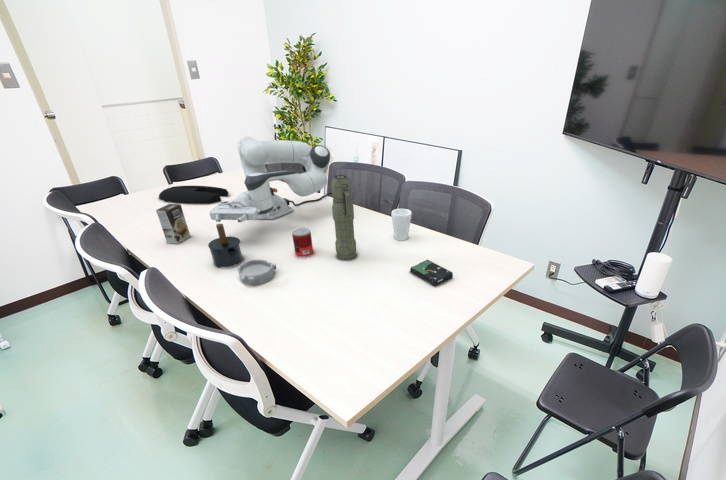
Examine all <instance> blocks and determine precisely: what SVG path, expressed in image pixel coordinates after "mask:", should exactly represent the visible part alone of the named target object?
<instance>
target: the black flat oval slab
mask: <svg viewBox="0 0 726 480" xmlns="http://www.w3.org/2000/svg"><path fill="white" fill-rule="evenodd" d="M228 196H229V191H228V190H227V188H223V187H217V186H209V185H176V186H171V187H168V188H165V189H162V191H161V192H160V193H159V194H158V198H159V199H160V200H162V201H164V202H166V203H172V204H185V205H213V204H216V203H220V202H222V198H223V197H225V198H227V197H228ZM221 197H222V198H221Z"/></svg>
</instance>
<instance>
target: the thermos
mask: <svg viewBox="0 0 726 480" xmlns="http://www.w3.org/2000/svg"><path fill="white" fill-rule="evenodd" d="M351 185H352V184H351V181H350V178H349V177H348V176H347V175H345V174H337V175H334V176H333V177H332V180H331V193H332V194H331V195H332V205H331V211H332V212H331V214H332V219H333V222H334V230H335V241H334V243H335V252H336V258H337V259H338V260H340V261H351V260H354V259H356V258H357V241H356V238H355V228H354V227H355V225H354V219H355V210H354V204H353V202H352V201H353V200H352V188H351V187H352V186H351Z"/></svg>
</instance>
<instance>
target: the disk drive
mask: <svg viewBox="0 0 726 480" xmlns="http://www.w3.org/2000/svg"><path fill="white" fill-rule="evenodd" d="M409 272H410V273H411V274H413V275H415V276H416V277H418V278H420V279H422V280H423V281H425V282H426V283H428V284H430V285H432V286H434V287H435V286H438V285H440V284H443V283H445V282H447V281H449V280H450V279H451V280H452V279H453V277H454V273H453V272H452V271H450V270H448V269H447V268H444V267H443V266H440V265H439V264H437V263H435V262H433V261H432V260H430V259H426V260H423V261H421V262H418V263H417V264H415V265H413V266H411V267H410V268H409Z"/></svg>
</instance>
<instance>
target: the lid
mask: <svg viewBox="0 0 726 480" xmlns="http://www.w3.org/2000/svg"><path fill="white" fill-rule="evenodd" d="M215 226H216V230H217V234H218V237H217V238H215V239H212V240H211V241H209V243H208V244H207V245H208V248H209V250H210V249H212V250H227V249H231V248H234V247H236V246H237V245H239V246H240V244H241V239H240V238H239V237H237V236H227V234H226V231H225V227H224V224H223V223H216V225H215Z"/></svg>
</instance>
